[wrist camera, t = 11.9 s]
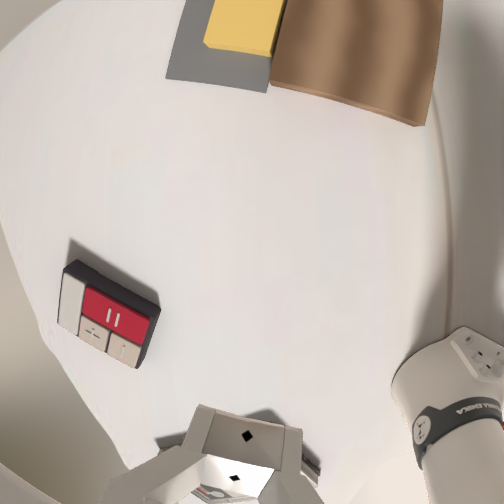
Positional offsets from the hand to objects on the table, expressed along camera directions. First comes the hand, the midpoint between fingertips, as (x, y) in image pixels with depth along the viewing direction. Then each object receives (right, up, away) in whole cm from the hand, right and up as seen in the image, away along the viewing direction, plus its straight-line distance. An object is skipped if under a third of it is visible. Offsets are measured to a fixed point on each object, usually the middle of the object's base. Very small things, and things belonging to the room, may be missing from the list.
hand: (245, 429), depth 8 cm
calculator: (-21, -4, +37) cm, 42 cm away
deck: (+12, +28, +19) cm, 36 cm away
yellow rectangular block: (0, +31, +20) cm, 37 cm away
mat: (-2, +31, +21) cm, 37 cm away
